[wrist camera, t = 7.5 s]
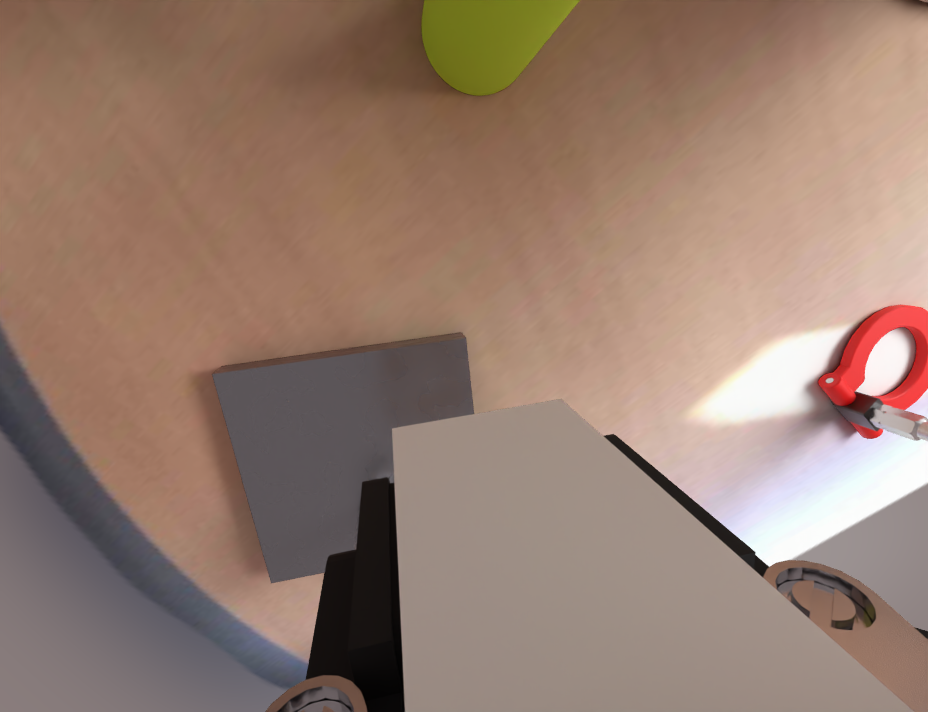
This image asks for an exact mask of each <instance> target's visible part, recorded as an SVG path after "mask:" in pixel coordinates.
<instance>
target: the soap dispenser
mask: <svg viewBox="0 0 928 712" xmlns="http://www.w3.org/2000/svg"><path fill="white" fill-rule="evenodd" d="M579 1H580V0H424V6H423V13H422V22H421V30H422V39H423V44H424V48H425V51H426V54H427V57H428V59H429V61H430V63H431V65H432V66H433V68H434V69H435V71H436V72H437V74H438V75H439V76H440V77H441V78H442V79H443V80H444V81H445V82H446V83H447V84H449V85H450V86H451V87H453V88H455V89H456V90H458V91H460V92H463V93H466V94H470V95H477V96H483V95H490V94H494V93H497V92H499V91H501V90H503V89H505V88H506V87H508V86H509V85H510V84H511V83H513V82H514V81H515V80H516V79H517V77H518V76H519V75H520V74H521V73H522V71H523V70H524V69H525V68H526V66H527V65H528V64H529V63H530V61H531V60H532V59H533V58H534V56H535V55H536V54H537V53H538V52H539V50H540V49H541V48H542V47H543V45H544V44H545V43H546V42H547V40H548V39H549V38H550V37H551V35H552V34H553V33H554V32H555V31H556V29H557V28H558V27H559V26H560V24H561V23H562V22H563V21H564V19H565V18H566V17H567V16H568V14H569V13H570V12H571V11H572V10H573V8H574V7H575V6H576V5H577V3H578V2H579Z"/></svg>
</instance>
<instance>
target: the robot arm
mask: <svg viewBox="0 0 928 712" xmlns="http://www.w3.org/2000/svg"><path fill="white" fill-rule="evenodd" d="M921 1H924V2H927V3H928V0H921ZM604 437H605V438H606V439H607V440H608V441H609V442H611V443H612V444H613V445H614V446H615V447H616V448H617V449H618V450H620V451H621V452H622V453H623V454H624V455H625V456H626V457H627V458H629V459H630V460H631V461H632V462H633V463H634V464H635V465H636V466H638V467H639V468H640V469H641V470H642V471H643V472H644V473H645V474H647V475H648V476H649V477H650V478H651V479H652V480H653V481H654V482H656V483H657V484H658V485H659V486H660V487H661V488H662V489H664V490H665V491H666V492H667V493H668V494H669V495H670V496H671V497H673V498H674V499H675V500H676V501H677V502H678V503H679V504H680V505H682V506H683V507H684V508H685V509H686V510H687V511H688V512H689V513H691V514H692V515H693V516H694V517H695V518H696V519H697V520H698V521H700V522H701V523H702V524H703V525H704V526H705V527H706V528H707V529H709V530H710V531H711V532H712V533H713V534H714V535H715V536H717V537H718V538H719V539H720V540H721V541H722V542H723V543H724V544H726V545H727V546H728V547H729V548H730V549H731V550H732V551H733V552H735V553H736V554H737V555H738V556H739V557H740V558H741V559H742V560H744V561H745V562H746V563H747V564H748V565H749V566H750V567H751V568H753V569H754V570H755V571H756V572H757V573H758V574H759V575H760V576H762V577H763V578H764V579H765V580H766V581H767V582H768V583H770V584H771V585H772V586H773V587H774V588H775V589H776V590H777V591H779V592H780V593H781V594H782V595H783V596H784V597H785V598H786V599H788V600H789V601H790V602H791V603H792V604H793V605H794V606H795V607H797V608H798V609H799V610H800V611H801V612H802V613H803V614H804V615H806V616H807V617H808V618H809V619H810V620H811V621H812V622H813V623H815V624H816V625H817V626H818V627H819V628H820V629H821V630H823V631H824V632H825V633H826V634H827V635H828V636H829V637H830V638H832V639H833V640H834V641H835V642H836V643H837V644H838V645H839V646H841V647H842V648H843V649H844V650H845V651H846V652H847V653H848V654H850V655H851V656H852V657H853V658H854V659H855V660H856V661H857V662H859V663H860V664H861V665H862V666H863V667H864V668H865V669H866V670H868V671H869V672H870V673H871V674H872V675H873V676H874V677H876V678H877V679H878V680H879V681H880V682H881V683H882V684H883V685H885V686H886V687H887V688H888V689H889V690H890V691H891V692H892V693H894V694H895V695H896V696H897V697H898V698H899V699H900V700H901V701H903V702H904V703H905V704H906V705H907V706H908V707H909V708H910V709H912V710H913V711H914V712H928V631H925V630H921V629H918V628H915V627H913V626H912V625H911V624H910V623H908V622H907V621H906V620H905V619H904V618H903V617H902V616H901V615H900V614H898V613H897V612H896V611H895V610H894V609H893V608H892V607H891V606H889V605H888V604H887V603H886V602H885V601H884V600H883V599H882V598H880V597H879V596H878V595H877V594H876V593H875V592H874V591H872V590H871V589H870V588H868V587H867V586H865V585H864V584H862V583H861V582H860V581H859V580H857V579H855V578H853V577H851V576H849V575H847V574H845V573H843V572H842V571H839V570H836V569H834V568H831V567H828V566H825V565H822V564H818V563H813V562H808V561H796V560H787V561H783V562H778V563H775V564H774V565H772V566H771V567H769V566H767V565H766V564H765V563H764V562H763V561H762V560H760V559H759V558H758V557H757V556H756V555H755V552H754V551H753V550H752V549H751V548H750V547H749V546H747V545H746V544H745V543H744V542H743V541H741V540H740V539H739V538H738V537H737V536H735V535H734V534H733V533H732V532H731V531H729V530H728V529H727V528H726V527H725V526H723V525H722V524H721V523H720V522H719V521H717V520H716V519H715V518H714V517H713V516H711V515H710V514H709V513H708V512H707V511H706V510H704V509H703V508H702V507H701V506H700V505H698V504H697V503H696V502H695V501H694V500H692V499H691V498H690V497H689V496H688V495H686V494H685V493H684V492H683V491H682V490H680V489H679V488H678V487H677V486H676V485H674V484H673V483H672V482H671V481H670V480H668V479H667V478H666V477H665V476H664V475H663V474H661V473H660V472H659V471H658V470H657V469H655V468H654V467H653V466H652V465H651V464H649V463H648V462H647V461H646V460H645V459H643V458H642V457H641V456H640V455H639V454H637V453H636V452H635V451H634V450H633V449H631V448H630V447H629V446H628V445H627V444H625V443H624V442H623V441H622V440H621V439H620V438H618V437H617V436H616V435H614V434H611V435H606V436H604ZM266 712H405V701H404V679H403V657H402V636H401V614H400V592H399V571H398V549H397V527H396V506H395V484H394V483H390V480H389V477H384V478H379V479H374V480H368V481H363V482H362V489H361V500H360V512H359V523H358V535H357V546H356V549H355V550H351V551H346V552H341V553H336V554H332V555H329V557H328V559H327V562H326V568H325V573H324V579H323V585H322V590H321V596H320V602H319V607H318V613H317V619H316V625H315V630H314V636H313V642H312V647H311V653H310V659H309V664H308V670H307V676H306V680H305V681H303V682H301V683H299V684H297V685H296V686H294V687H292V688H290V689H288V690H287V691H286V692H285V693H284V694H282V695H281V696H280V697H279V698H278V699H276V700H275V701H274V702H273V703H272V704H271V705H270V706H269V708H268V709H267V710H266Z"/></svg>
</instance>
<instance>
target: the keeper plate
mask: <svg viewBox="0 0 928 712" xmlns="http://www.w3.org/2000/svg"><path fill="white" fill-rule="evenodd" d="M212 376H213V379H214V383H215V386H216V390H217V393H218V397H219V400H220V404H221V407H222V411H223V414H224V418H225V422H226V425H227V429H228V432H229V436H230V439H231V443H232V446H233V450H234V453H235V457H236V460H237V464H238V467H239V471H240V474H241V478H242V482H243V485H244V489H245V492H246V496H247V499H248V503H249V506H250V510H251V513H252V517H253V520H254V524H255V527H256V531H257V534H258V538H259V542H260V545H261V549H262V552H263V556H264V559H265V563H266V566H267V570H268V573H269V577H270V580H271V583H275V582H280V581H285V580H290V579H295V578H300V577H305V576H310V575H315V574H320V573H324V572H325V568H326V562H327V559H328V557H329V555H332V554H336V553H341V552H346V551H351V550H355V549H356V546H357V535H358V523H359V512H360V500H361V489H362V482H363V481H368V480H374V479H379V478H384V477H389V480H390V483H394V462H393V441H392V428H397V427H403V426H409V425H414V424H420V423H426V422H431V421H437V420H443V419H449V418H454V417H460V416H466V415H472V414H474V408H473V399H472V390H471V381H470V371H469V362H468V353H467V344H466V337H465V336H464V335H463V333H455V334H447V335H440V336H433V337H426V338H419V339H412V340H405V341H398V342H391V343H384V344H377V345H369V346H362V347H355V348H348V349H341V350H334V351H327V352H320V353H313V354H306V355H299V356H291V357H284V358H277V359H270V360H263V361H256V362H249V363H242V364H235V365H228V366H222V367H221V368H219V369H218V370H217V371H216V372H214V373H213V374H212Z"/></svg>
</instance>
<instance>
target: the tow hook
mask: <svg viewBox="0 0 928 712" xmlns="http://www.w3.org/2000/svg"><path fill="white" fill-rule="evenodd" d="M900 327H905V328H907V329H908V330H909V331H910V332H911V333H912V334H913V336H914V339H915V342H916V356H915V361H914V364H913V367H912V369H911V371H910V373H909V375H908V376H907V378H906V379H905V380H904V382H903V383H902V384H901V385H900V386H899V387H898V388H896V389H895V390H894V391H892V392H890V393H888V394H886V395H883V396H878V397H877V396H869V395H865V394H862V393H859V392H855V391H856V389H857V388H858V387H859V386H860V385H861V384H862V383H863V382H864V379H865V375H864V374H865V366H866V363H867V360H868V357H869V354H870V353H871V351H872V349H873V347H874V346H875V344H876V343H877V342H878V341H879V340H880V339H881V338H882V337H883V336H884V335H885V334H887V333H888V332H889V331H892V330H894V329H896V328H900ZM818 384H819V386H820V387H821V388H822V389H823V390H824V392H825V393H826V394H827V395H828V396H829V398H830V399H831V400H832V403H833V405H834V406H835V407H836V408H837V410H838V411H839V412H840V413H841V414H842V416H843V417H844V418H845V419H846V420H847V421H849V422H850V423H851V424H852V425H853V426H854V428H855V429H856V430H857V431H858V432H859V434H860V435H861V436H862V437H864V438H867V439H873V438H877V437H879V436H880V435H881V434H882V432H883V429H885V430H887V431H889V432H892V433H895V434H898V435H900V436H903V437H906V438H909V439H912V440H920V439H923V440H926V441H928V419H927V418H926V417H924V416H921V415H918V414H914V413H911V412H908V411H904V410H906V409H907V408H908V407H910V406H911V405H912V404H913V403H915V402H916V401H917V400H918V399H919V398H920V397H921V396H922V395H923V393H924V392H925V391H926V390H927V389H928V311H926V310H925V309H923V308H921V307H915V306H908V305H896V306H889V307H886V308H884V309H882V310H880V311H878V312H876V313H874V314H873V315H872V316H871V317H869V318H868V319H867V320H865V321H864V322H863V323H862V324H861V325H860V327H859V328H858V329H857V330H856V331H855V333H854V334H853V335H852V337H851V339H850V340H849V342H848V344H847V346H846V347H845V350H844V353H843V356H842V359H841V362H840V365H839V366H838V368H837V369H836V370H835V371H834V372H833V373H827V374H825V375H823V376H822V377H820V379H819V381H818Z"/></svg>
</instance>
